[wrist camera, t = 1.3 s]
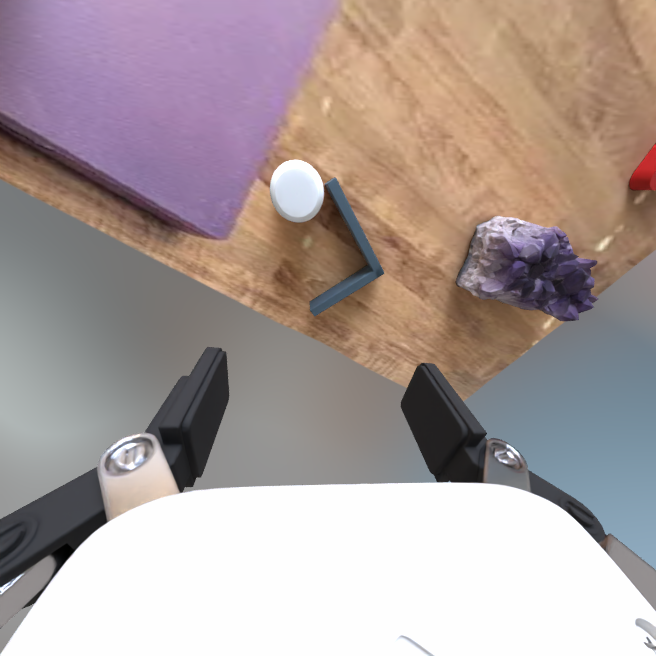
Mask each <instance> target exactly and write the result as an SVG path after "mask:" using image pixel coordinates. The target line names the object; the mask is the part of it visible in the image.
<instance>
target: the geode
mask: <svg viewBox="0 0 656 656" xmlns="http://www.w3.org/2000/svg"><path fill="white" fill-rule="evenodd" d="M566 236H567V235H566V234H565V233H564V232H562V231H561V230H560V229H559V228H558V227H551V228H545V227H544V228H543V227H541V226H539V225H536V224H532V223H529V222H526V221H522V220H519V219H518V218H512V217H509V218H506V217H501V216H496V217H493V218H492V219H491V220H489V221H487V222H484V223H482V224H479V225H477V227H476V231H475V234H474V236H473V238H472V241H471V244H470V249H469V254H468V257H467V259H466V260H465V262H464V265H463V267H462V268H461V270H460V272H459V274H458V277H457V280H456V285H457V286H458V287H462V288H464V289H466V290H468V291H470V292H471V293H472V294H473V295H475V296H477V297H479V298H480V299H489V298H490V299H492V300H493V299H496V300H498V301H500V302H502V303H506V304H510V305H512V306H515V307H519V308H521V309H526V310H538V309H539V310H541V311H543V312H544V313H546V314H549V315H551V316H553V317H555V318H557V319H558V320H560V321H574V320H579V317H578V313H581V312H584V311H587V310H590V309H592V308H593V305H592V304H591V303H593V302H595V301H597V300H598V298H597V297H595V296H593V295H591V290H590V289H591V288H593V287H594V278H592V277H590V275H591V270H590V268H591V267H593V266H595V265H596V264H597V261H596V260H588V259H581V258H577V257H579V256H577V255H575V254H573V250H572V247H571V245H570V243H569V240H568V237H566Z"/></svg>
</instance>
